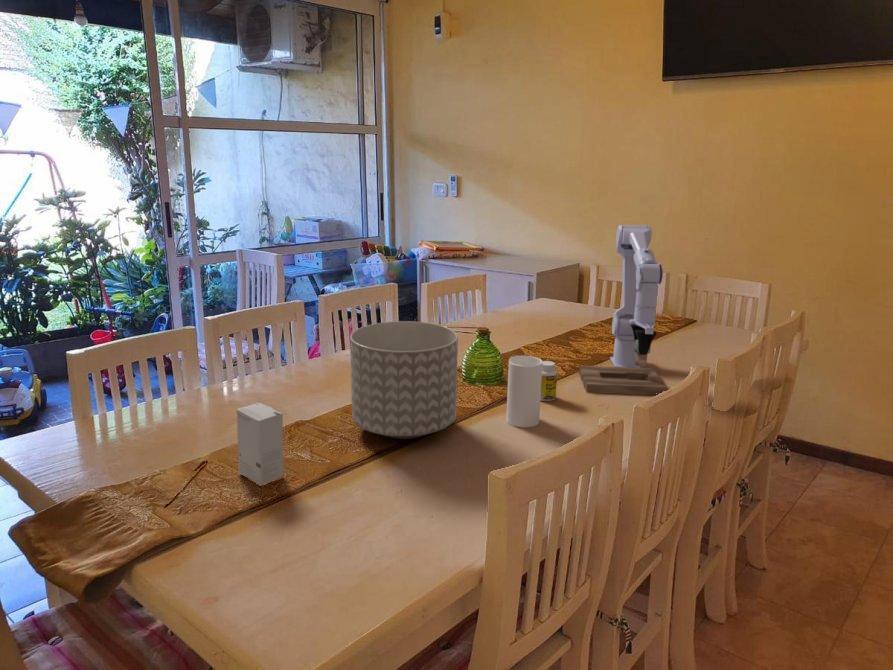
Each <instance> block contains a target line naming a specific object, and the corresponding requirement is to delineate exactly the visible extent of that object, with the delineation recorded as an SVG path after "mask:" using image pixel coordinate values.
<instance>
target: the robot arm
mask: <svg viewBox="0 0 893 670" xmlns="http://www.w3.org/2000/svg"><path fill="white" fill-rule="evenodd" d="M652 233H653V231H652V228H651V226H650V225H649V224H647V225H638V224H637V225H636V224H635V225H634V224H633V225H632V224H619V225H618V226H617V228H616V233H615V249H616V253H618V254H619V255H620V256H621V260H622V273H621V274H622V283H621V284H622V288H621V289H622V290H621V292H622V295H621V296H622V297H621V301H622V302H621V304H622V305H621V307H620V308H618V309H616V310H615V311H614V312H613V314H612V322H611V333H612V335H613V336H614V337H615V339H614V344H613V345H614V346H613V356H610V357H609V359H610V361H611V363H612V365H613V367H631V368H642V366H637V365H636V354H637V353H636V352H635V351H634V348H635V340H638V350H639V354H641V355H647V356H648V354H647V353H648V350H649V347H650V345H651V346H652V342H653V340H654V339H655V338H656V336H657V335H658V333H657V332H656V331H654V329H655V328H654V327H655V326H656V313H657V304H658V303H657V302H658V295H659V285H661V284H662V282H663V276H664V268H663V264H662V263H661V262H657V259H656V256H655V254H654V251H653V250H652V249H651V248H649V245H650V244H651V241H652Z"/></svg>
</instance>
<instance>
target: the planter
mask: <svg viewBox="0 0 893 670" xmlns="http://www.w3.org/2000/svg"><path fill="white" fill-rule="evenodd" d="M349 337H350V338H349V345H350V346H349V347H350V348H349V349H350V352H349V353H350V386H351V387H350V389H351V390H350V391H351V393H350V394H351V417H352V421H353V422H354V424H356V425H357V426H358V427H359V428H361V429H362V430H365V431H367V432H370V433H373V434H377V435H381V436H383V437H387V438H392V439H398V440H406V439H407V440H409V439H414V438H415V439H416V438H420V437H421V438H422V437H424V436H426V435H427V436H428V435H429V434H433V433H434V434H435V433H436V432H439V431H441V430H444V429H447V428H448V427H449V426H451V425H452V424H453V423H454V422H455V420H456V418H457V402H458V401H457V400H458V399H457V397H458V396H457V394H458V393H457V392H458V356H459V355H458V353H459V352H458V351H459V347H458V346H459V345H458V344H459V335H458V333H457V332H456V331H454V330H453V329H452V328H450V327H447V326H444V325H441V324H437V323H431V322H424V321H414V320H413V321H411V320H410V321H409V320H406V321H405V320H404V321H403V320H400V321H398V320H397V321H385V322H378V323H377V322H376V323H373V324H368V325H364V326H361V327H359V328H357V329H355V330H353V332H351V333H350V335H349Z"/></svg>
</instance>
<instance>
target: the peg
mask: <svg viewBox="0 0 893 670" xmlns="http://www.w3.org/2000/svg"><path fill="white" fill-rule="evenodd" d="M651 347H652V344H651V345H650V347H649V350H648V353H647V355H641V354H639V350H638V340H635V348H634V351H635V352H636V353H637V354H636V365H637V366H641V367H646V366H647V362H648V354H651Z"/></svg>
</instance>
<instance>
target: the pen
mask: <svg viewBox="0 0 893 670" xmlns="http://www.w3.org/2000/svg"><path fill="white" fill-rule="evenodd" d="M207 460H208V459H205V460H202V461H201V462H200V463H199V465H197V466H196V468H195V469H193V472H194V471H197V469H199V468H200V467H201V466H202V465H204V464H205V463H206V464H207V462H208V461H207ZM205 461H207V462H205Z"/></svg>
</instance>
